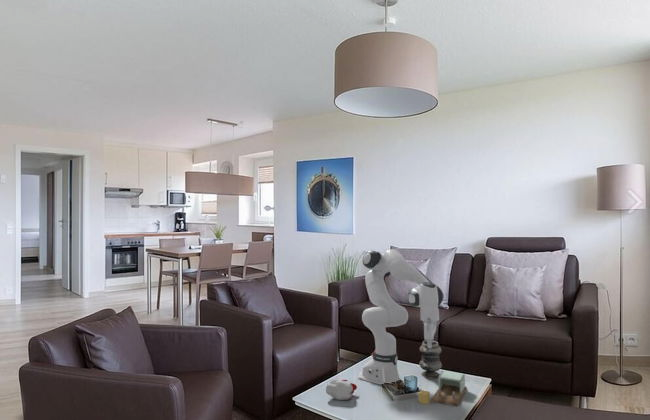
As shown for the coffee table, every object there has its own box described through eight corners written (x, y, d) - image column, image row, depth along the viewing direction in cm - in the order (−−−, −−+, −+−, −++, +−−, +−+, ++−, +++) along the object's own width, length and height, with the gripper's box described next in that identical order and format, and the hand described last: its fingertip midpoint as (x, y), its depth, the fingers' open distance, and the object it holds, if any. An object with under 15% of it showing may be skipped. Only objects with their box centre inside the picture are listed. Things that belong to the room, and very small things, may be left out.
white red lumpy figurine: (324, 398, 203) (345, 393, 214) (341, 405, 195) (362, 399, 206) (325, 379, 204) (346, 374, 215) (342, 385, 196) (363, 380, 207)
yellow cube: (419, 402, 198) (418, 393, 198) (421, 399, 202) (421, 390, 202) (427, 404, 196) (427, 394, 196) (429, 401, 200) (429, 391, 200)
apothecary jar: (428, 380, 225) (427, 346, 225) (415, 373, 236) (414, 340, 236) (446, 376, 229) (446, 343, 229) (433, 369, 240) (432, 338, 241)
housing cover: (438, 389, 209) (438, 376, 209) (442, 383, 217) (442, 370, 217) (461, 393, 204) (461, 380, 204) (464, 386, 212) (464, 374, 212)
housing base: (431, 401, 199) (431, 392, 199) (442, 384, 218) (442, 376, 219) (457, 406, 193) (457, 397, 193) (466, 388, 213) (466, 380, 213)
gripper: (434, 321, 194) (435, 351, 193) (438, 312, 213) (439, 340, 212) (420, 320, 196) (421, 350, 195) (425, 312, 215) (426, 339, 214)
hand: (430, 345), depth 204 cm, fingers open, 8 cm apart
